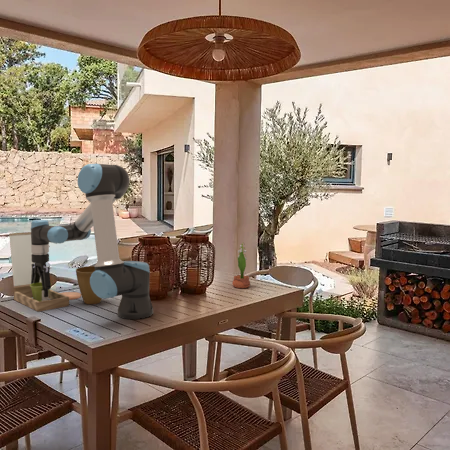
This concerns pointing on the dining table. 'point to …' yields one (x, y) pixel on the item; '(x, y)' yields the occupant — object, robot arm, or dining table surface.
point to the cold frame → (24, 297)
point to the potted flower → (241, 271)
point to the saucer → (72, 295)
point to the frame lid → (21, 258)
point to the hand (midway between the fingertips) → (41, 301)
